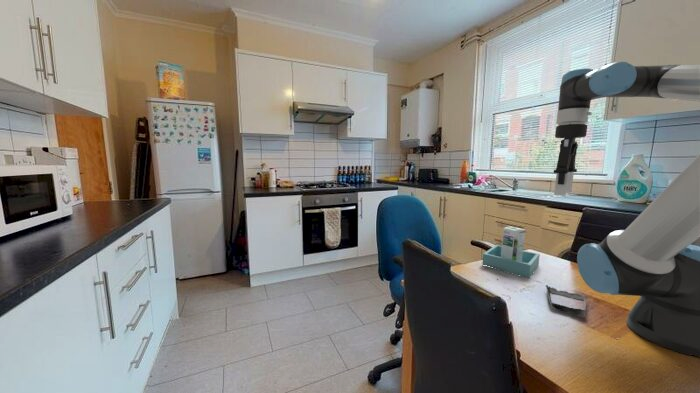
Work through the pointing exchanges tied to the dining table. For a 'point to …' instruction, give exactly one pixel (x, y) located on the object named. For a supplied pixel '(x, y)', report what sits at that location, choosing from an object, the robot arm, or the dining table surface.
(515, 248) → the syrup box
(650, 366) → the dining table surface
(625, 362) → the dining table surface
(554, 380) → the dining table surface
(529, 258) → the box
